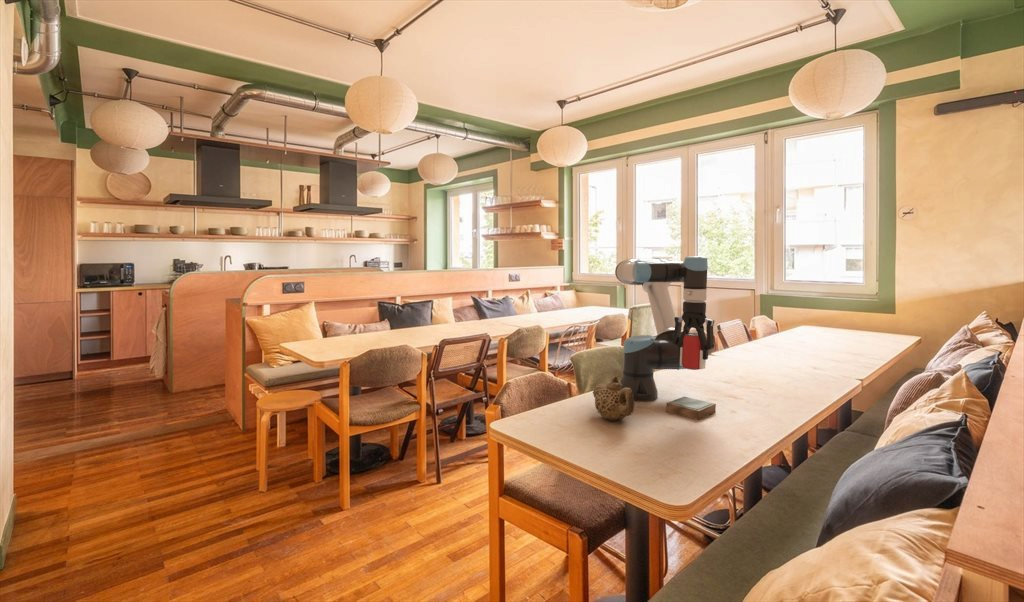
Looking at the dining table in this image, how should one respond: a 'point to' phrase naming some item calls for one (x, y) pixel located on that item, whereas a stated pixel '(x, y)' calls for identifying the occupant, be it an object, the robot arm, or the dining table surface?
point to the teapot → (613, 400)
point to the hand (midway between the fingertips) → (692, 366)
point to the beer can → (691, 351)
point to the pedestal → (691, 407)
